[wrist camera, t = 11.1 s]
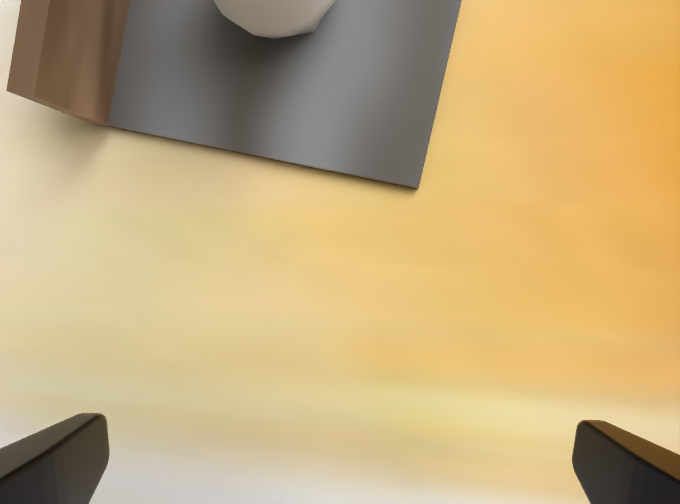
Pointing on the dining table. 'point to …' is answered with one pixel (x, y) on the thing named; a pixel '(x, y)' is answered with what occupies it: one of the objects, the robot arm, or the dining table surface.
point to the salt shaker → (275, 15)
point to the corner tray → (247, 78)
